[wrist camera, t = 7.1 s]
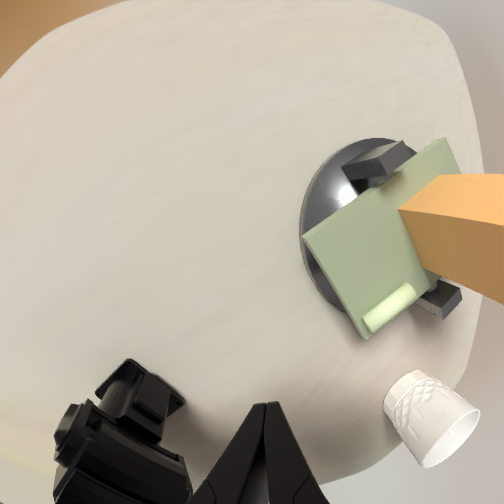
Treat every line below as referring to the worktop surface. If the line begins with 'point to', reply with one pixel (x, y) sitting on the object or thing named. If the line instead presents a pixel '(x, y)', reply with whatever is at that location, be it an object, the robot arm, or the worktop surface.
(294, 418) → the worktop surface
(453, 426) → the white cup
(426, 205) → the orange and green block
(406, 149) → the base
